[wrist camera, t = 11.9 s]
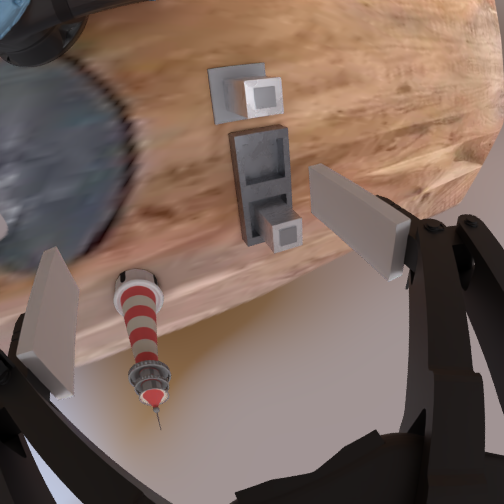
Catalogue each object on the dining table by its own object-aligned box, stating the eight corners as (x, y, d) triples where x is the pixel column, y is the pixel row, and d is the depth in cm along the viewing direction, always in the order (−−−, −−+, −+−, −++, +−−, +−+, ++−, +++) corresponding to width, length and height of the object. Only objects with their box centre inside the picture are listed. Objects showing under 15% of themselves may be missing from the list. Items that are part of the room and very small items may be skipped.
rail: (228, 133, 49) (234, 136, 47) (279, 124, 51) (287, 127, 49) (242, 238, 60) (247, 246, 58) (286, 226, 63) (293, 233, 60)
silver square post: (249, 200, 56) (273, 226, 48) (275, 194, 57) (302, 218, 49) (252, 225, 59) (275, 254, 51) (277, 218, 60) (303, 245, 52)
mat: (207, 69, 43) (208, 69, 42) (262, 62, 45) (264, 62, 44) (214, 123, 48) (215, 124, 47) (267, 114, 50) (269, 115, 49)
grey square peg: (222, 79, 44) (244, 81, 35) (253, 75, 45) (281, 77, 37) (226, 109, 46) (248, 118, 38) (256, 105, 48) (284, 113, 39)
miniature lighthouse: (169, 292, 61) (210, 429, 37) (130, 314, 60) (153, 452, 36) (144, 258, 55) (173, 402, 31) (103, 282, 55) (109, 429, 31)
